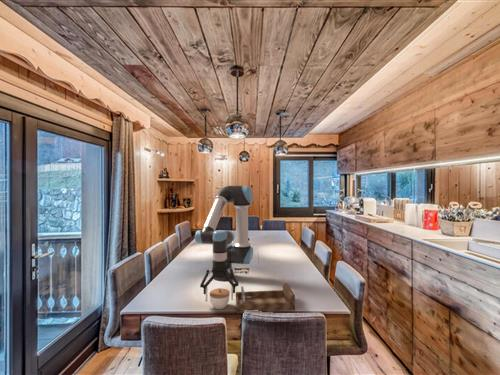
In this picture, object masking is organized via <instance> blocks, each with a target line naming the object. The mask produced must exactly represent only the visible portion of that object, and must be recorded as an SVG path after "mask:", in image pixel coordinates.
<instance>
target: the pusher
mask: <svg viewBox="0 0 500 375" xmlns="http://www.w3.org/2000/svg"><path fill="white" fill-rule="evenodd" d="M240 292H241V301H242V304H245V299H251V296H245V294H244V292H245V290H244V286H240Z"/></svg>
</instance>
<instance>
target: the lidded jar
mask: <svg viewBox="0 0 500 375" xmlns="http://www.w3.org/2000/svg"><path fill="white" fill-rule="evenodd" d="M230 295H231V293H230V290H229V289H227V288H223V287H221V288H215V289H214V288H213V289H212V290H210V291H209V302H210V305H211V306H212V307H213V308H214V309H216V310H222V309H223V310H224V309H225V308H226V306H227V305H228V303H229V301H230Z"/></svg>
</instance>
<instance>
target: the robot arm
mask: <svg viewBox="0 0 500 375" xmlns="http://www.w3.org/2000/svg"><path fill="white" fill-rule="evenodd" d="M253 202H254V195H253V191H252V188H251V187H250V186H249V185H227V186H224V187H223V188H221V189H219V190H218V192H217V193H216V194H215V195H214V198H213V204H212V206H211V207H210V210H209V213H208V215H207V218H206V220H205V223H204V224H203V226H202V229H200V230H196V232H195V235H194V240H195V242H196V244H201V245H202V244H203V245H212V269H209V268H206V273H205V274H204V277H203V279H202V280H201V282H200V286H199V287H200V288H203V294H204V295H205V302H207V301H208V286H209V285H210V284H211V282H213V280H215V281H218V282H219V281H220V282H221V281H222V282H224V281H225V282H226V281H228V283H229V284H230V287H231V293H230V295H231V301H233V300H234V294H236V287H239V281H238V279H237V278H236V276H235V272H234V269H233V266H232V265H233V264H236V265H237V264H238V265H249V264H251V262H252V260H253V255H254V247H252V246H251V243H250V242H249V207H250V206H251V204H252V203H253ZM228 203H231V204H232V203H233V207H234V209H235V234H234V233H233V231H232V230H223V229H218V230H216V229H217V226H218V225H219V224H218V223H219V221H220V219H221V216H222V214H223V212H224V209H225V208H226V206H227V205H228ZM234 240H235V242H234V244H232V243H233V241H234ZM211 273H212V275H211V276H210V278H209V279H208V276H209V274H211ZM207 279H208V280H207ZM232 280H233V281H232Z"/></svg>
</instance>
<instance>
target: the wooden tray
mask: <svg viewBox="0 0 500 375" xmlns="http://www.w3.org/2000/svg"><path fill="white" fill-rule="evenodd" d="M244 294H245V296H251V299H245V304H242V301H241V291H235V304H236V311H237V312H236V313H237V314H244V313H243V312H244V311H245V310H258V311H268V312H283V311H285V310H288V311H296V294H295V292H294V290H292V288H291V287H290V285H289V284H288V282H282V289H278V290H276V289H275V290H274V289H273V290H252V291H250V290H249V291H244Z"/></svg>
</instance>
